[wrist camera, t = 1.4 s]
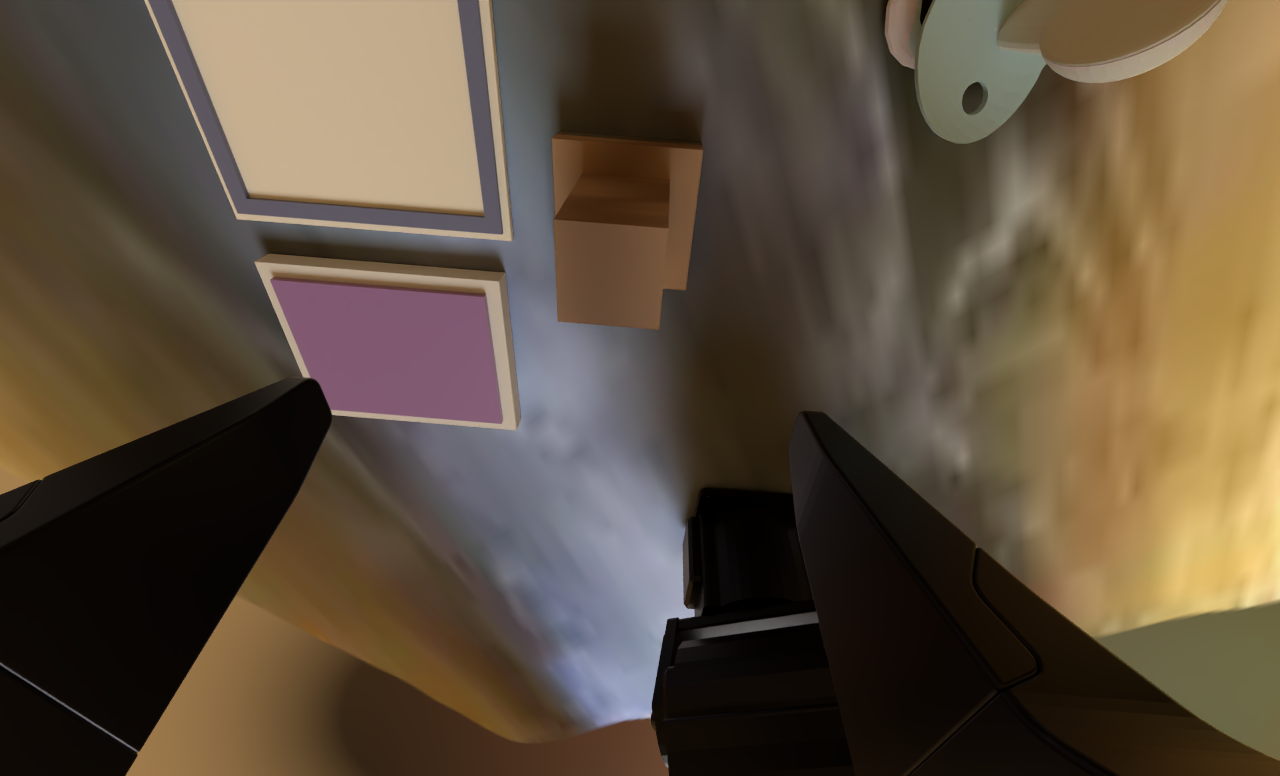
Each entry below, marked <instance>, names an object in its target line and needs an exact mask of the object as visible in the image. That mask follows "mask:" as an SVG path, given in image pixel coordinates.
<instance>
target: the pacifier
mask: <svg viewBox="0 0 1280 776" xmlns="http://www.w3.org/2000/svg"><path fill="white" fill-rule="evenodd" d="M1227 1H1228V0H933V1H932V3H931V5H930V8H929V10H928V12H927V15H926V17H925V19H924V22H923V24H922V26H921V22H920V14H921V7H922V0H889V1H888V4H887V8H886V21H885V36H886V40H887V43H888V47H889V50H890V53H891V54H892V55H893V56H894V57H895V58H896V59H897V60H898V61H899V62H900V64H901V65H903V66H906V67H909V68H912V69H915V88H916V95H917V100H918V103H919V107H920V110H921V113H922V115H923V117H924V119H925V121H926V123H927V124H928V125H929V127H930V128H931V129H932V130H933V132H934V133H936V134H937V135H938V136H940V137H941V138H943V139H945V140H948V141H950V142H953V143H960V144H967V143H971V142H975V141H978V140H980V139H983V138H985V137H987V136H988V135H989V134H991V133H992V132H994V131H995V130H996V129H997V128H999V127H1000V126H1001V125H1002V124H1004V123H1005V122H1006V121H1007V120H1008V118H1009V117H1010V116H1011V115H1012V114H1013V113H1014V112H1015V111H1016V110H1017V108H1018V107H1019V106H1020V105H1021V103H1022V102H1023V101H1024V99H1025V98H1026V97H1027V95H1028V93H1029V92H1030V90H1031V89H1032V87H1033V86H1034V84H1035V83H1036V81H1037V79H1038V77H1039V75H1040V72H1041V70H1042V68H1043V67H1044V66H1045V65H1046V64H1048V65H1049V66H1050V68H1051V69H1052V70H1054V71H1055V72H1056V73H1058V74H1060V75H1062V76H1063V77H1065V78H1068V79H1071V80H1074V81H1079V82H1086V83H1105V82H1112V81H1118V80H1122V79H1127V78H1130V77H1133V76H1137V75H1140V74H1142V73H1145V72H1147V71H1150V70H1152V69H1154V68H1156V67H1158V66H1160V65H1162V64H1164V63H1166V62H1167V61H1169V60H1171V59H1172V58H1174V57H1176V56H1177V55H1179V54H1180V53H1181V52H1183V51H1184V50H1185V49H1187V48H1188V47H1189V46H1191V45H1192V44H1193V43H1194V42H1195V41H1196V40H1197V39H1198V38H1200V37H1201V36H1202V35H1203V34H1204V33H1205V32H1206V31H1207V30H1208V29H1209V27H1210V26H1211V25H1212V24H1213V22H1214V21H1215V20H1216V19H1217V17H1218V16H1219V15H1220V13H1221V12H1222V10H1223V8H1224V6H1225V4H1226V2H1227ZM974 82H979V83H980V84H981V86H982V88H983V99H982V102H981V104H980V106H979V107H978V108H977V109H976V110H975V111H974V112H972V113H970V114H966V113H965V112H964V110H963V107H962V97H963V94H964V92H965V90H966V89H967V87H968V86H969V85H971V84H972V83H974Z"/></svg>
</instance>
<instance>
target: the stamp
mask: <svg viewBox="0 0 1280 776" xmlns="http://www.w3.org/2000/svg"><path fill="white" fill-rule="evenodd" d="M552 153H553V177H554V201H555V218H554V219H553V221H554V244H555V267H556V290H557V312H558V321H559V322H571V323H584V324H596V325H608V326H621V327H633V328H645V329H657V330H659V324H660V314H661V303H662V293H663V289H676V290H686V284H687V276H688V268H689V260H690V252H691V244H692V236H693V228H694V220H695V212H696V205H697V197H698V189H699V181H700V173H701V165H702V157H703V147H702V142H695V141H682V140H669V139H656V138H644V137H631V136H618V135H605V134H592V133H579V132H566V131H560V132H558V133H557V134H556V135H555V136H554V137H553V138H552Z"/></svg>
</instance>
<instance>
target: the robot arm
mask: <svg viewBox="0 0 1280 776" xmlns="http://www.w3.org/2000/svg"><path fill="white" fill-rule="evenodd" d="M331 422H332V412H331V409H330V407H329V404H328V402H327V400H326V397H325V395H324V393H323V390H322V388H321V386H320V384H319V382H318V381H317V380H315V379H313V378H307V377H289V378H286V379H284V380H281V381H279V382H276V383H274V384H271V385H269V386H266V387H264V388H262V389H259V390H257V391H254V392H252V393H249V394H247V395H244V396H242V397H239V398H237V399H235V400H232V401H230V402H227V403H225V404H222V405H220V406H217V407H215V408H213V409H210V410H208V411H205V412H203V413H200V414H198V415H195V416H193V417H190V418H188V419H186V420H183V421H181V422H178V423H176V424H173V425H171V426H168V427H166V428H163V429H161V430H159V431H156V432H154V433H151V434H149V435H146V436H144V437H141V438H139V439H136V440H134V441H132V442H129V443H127V444H124V445H122V446H119V447H117V448H114V449H112V450H109V451H107V452H105V453H102V454H100V455H97V456H95V457H92V458H90V459H87V460H85V461H83V462H80V463H78V464H75V465H73V466H70V467H68V468H65V469H63V470H60V471H58V472H56V473H53V474H51V475H48V476H46V477H44V478H43V480H36V481H33V482H31V483H28V484H26V485H23V486H21V487H18V488H16V489H14V490H11V491H9V492H6V493H4V494H1V495H0V776H125V775H126V774H127V772H128V771H129V769H130V767H131V766H132V764H133V762H134V761H135V759H136V757H137V752H139V751H140V750H141V748H142V747H143V745H144V744H145V742H146V740H147V739H148V737H149V735H150V734H151V732H152V731H153V729H154V727H155V726H156V724H157V723H158V721H159V719H160V717H161V716H162V714H163V713H164V711H165V709H166V708H167V706H168V705H169V703H170V701H171V699H172V698H173V696H174V695H175V693H176V691H177V690H178V688H179V687H180V685H181V683H182V681H183V680H184V678H185V677H186V675H187V674H188V672H189V670H190V669H191V667H192V665H193V664H194V662H195V661H196V659H197V657H198V655H199V654H200V652H201V651H202V649H203V648H204V646H205V644H206V643H207V641H208V639H209V638H210V636H211V634H212V633H213V631H214V630H215V628H216V626H217V625H218V623H219V622H220V620H221V618H222V617H223V615H224V613H225V612H226V610H227V609H228V607H229V605H230V604H231V602H232V600H233V599H234V597H235V595H236V594H237V592H238V591H239V589H240V587H241V586H242V584H243V582H244V581H245V579H246V578H247V576H248V574H249V573H250V571H251V569H252V568H253V566H254V565H255V563H256V561H257V560H258V558H259V556H260V555H261V553H262V552H263V550H264V548H265V547H266V545H267V543H268V542H269V540H270V538H271V537H272V535H273V534H274V532H275V530H276V529H277V527H278V525H279V524H280V522H281V521H282V519H283V517H284V516H285V514H286V512H287V511H288V509H289V508H290V506H291V504H292V503H293V501H294V499H295V497H296V496H297V494H298V492H299V490H300V488H301V486H302V484H303V482H304V480H305V478H306V476H307V474H308V472H309V470H310V468H311V466H312V463H313V461H314V459H315V457H316V455H317V453H318V451H319V449H320V447H321V444H322V442H323V440H324V438H325V436H326V434H327V432H328V430H329V428H330V425H331ZM788 455H789V465H790V474H791V483H792V492H793V495H787V494H775V493H763V492H752V491H740V490H728V489H716V488H704V489H702V490H701V491H700V492H699V496H698V501H697V506H696V511H695V516H694V517H693V516H691V517H690V518H689V519H688V520H687V525H686V530H685V536H684V541H683V586H684V605H685V606H686V607H687V608H688V609H695V617H691V618H684V619H679V618H671V619H668V620H667V625H666V631H665V635H664V637H663V642H662V648H661V654H660V660H659V666H658V671H657V677H656V683H655V689H654V694H653V700H652V714H651V724H652V727H653V729H654V730H655V731H656V734H657V740H658V745H659V749H660V752H661V756H662V758H663V761H664V763H665V765H666V766H667V768H668V769H669V776H1280V760H1278V759H1275V758H1273V757H1270V756H1268V755H1266V754H1264V753H1261V752H1260V751H1257V750H1255V749H1253V748H1251V747H1249V746H1247V745H1245V744H1243V743H1241V742H1239V741H1238V740H1236V739H1234V738H1232V737H1230V736H1228V735H1227V734H1224V733H1223V732H1221V731H1220V730H1218V729H1216V728H1215V727H1213V726H1212V725H1210V724H1209V723H1207V722H1205V721H1204V720H1202V719H1201V718H1199V717H1197V716H1196V715H1195V714H1193V713H1192V712H1190V711H1189V710H1188V709H1186V708H1185V707H1184V706H1182V705H1180V704H1179V703H1178V702H1177V701H1176V700H1174V699H1172V697H1170V696H1169V695H1168V694H1166V693H1165V692H1164V691H1162V690H1161V689H1160V688H1158V687H1157V686H1156V685H1154V684H1153V683H1152V682H1150V681H1149V680H1147V679H1146V678H1145V677H1144V676H1142V675H1141V674H1140V673H1138V672H1137V671H1136V670H1134V669H1133V668H1132V667H1131V666H1129V665H1127V663H1125V662H1124V661H1122V660H1121V659H1120V658H1119V657H1117V656H1116V655H1115V654H1113V653H1112V652H1110V651H1109V650H1108V649H1107V648H1105V647H1104V646H1103V645H1101V644H1100V643H1099V642H1097V641H1096V640H1095V639H1094V638H1092V637H1091V636H1090V635H1088V634H1087V633H1086V632H1084V631H1083V630H1082V629H1080V628H1079V627H1078V626H1076V625H1075V624H1074V623H1073V622H1071V621H1070V620H1069V619H1067V618H1066V617H1065V616H1064V615H1062V614H1061V613H1060V612H1058V611H1057V610H1056V609H1055V608H1053V607H1052V606H1051V605H1049V604H1048V603H1047V602H1046V601H1044V600H1043V599H1042V598H1040V597H1039V596H1038V595H1037V594H1035V593H1034V592H1033V591H1032V590H1031V589H1029V588H1028V587H1027V586H1026V585H1025V584H1023V583H1022V582H1021V581H1020V580H1019V579H1017V578H1016V577H1015V576H1014V575H1013V574H1011V573H1010V572H1009V571H1008V570H1007V569H1005V568H1004V567H1003V566H1002V565H1001V564H999V563H998V562H997V561H996V560H995V559H994V558H992V557H991V556H990V555H989V554H988V553H987V552H985V551H984V550H983V549H982V548H977V545H976V543H975V542H974V541H972V540H971V539H970V538H969V537H968V536H967V535H965V534H964V533H963V532H962V531H961V530H960V529H959V528H957V527H956V526H955V525H954V524H953V523H952V522H950V521H949V520H948V519H947V518H946V517H945V516H943V515H942V514H941V513H940V512H939V511H938V510H936V509H935V508H934V507H933V506H932V505H931V504H930V503H928V502H927V501H926V500H925V499H924V498H923V497H921V496H920V495H919V494H918V493H917V492H916V491H914V490H913V489H912V488H911V487H910V486H909V485H907V484H906V483H905V482H904V481H903V480H902V479H901V478H899V477H898V476H897V475H896V474H895V473H894V472H892V471H891V470H890V469H889V468H888V467H887V466H885V465H884V464H883V463H882V462H881V461H880V460H878V459H877V458H876V457H875V456H874V455H873V454H872V453H870V452H869V451H868V450H867V449H866V448H865V447H863V446H862V445H861V444H860V443H859V442H858V441H856V440H855V439H854V438H853V437H852V436H851V435H849V434H848V433H847V432H846V431H845V430H844V429H843V428H841V427H840V426H839V425H838V424H837V423H836V422H834V421H833V420H832V419H831V418H830V417H829V416H827V415H826V414H825V413H823V412H816V411H802V412H800V413H799V415H798V417H797V420H796V423H795V426H794V430H793V433H792V436H791V440H790V443H789V450H788ZM707 496H709V497H707Z"/></svg>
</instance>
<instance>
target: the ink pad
mask: <svg viewBox="0 0 1280 776" xmlns="http://www.w3.org/2000/svg"><path fill="white" fill-rule="evenodd" d="M255 264H256V267H257V269H258V272H259V274H260V276H261V279H262V281H263V283H264V286H265V288H266V290H267V293H268V295H269V297H270V300H271V302H272V305H273V307H274V309H275V312H276V314H277V316H278V319H279V321H280V323H281V326H282V328H283V330H284V333H285V335H286V338H287V340H288V342H289V345H290V347H291V349H292V352H293V354H294V356H295V359H296V361H297V363H298V366H299V368H300V370H301V373H302V375H303V377H307V378H313V379H315V380H317V381H318V382H319V384H320V386H321V388H322V390H323V393H324V395H325V397H326V400H327V402H328V404H329V407H330V409H331V412H332V415H341V416H353V417H365V418H377V419H389V420H401V421H413V422H425V423H436V424H448V425H460V426H472V427H484V428H496V429H508V430H517V428H518V425H519V423H520V420H521V414H520V405H519V395H518V386H517V377H516V368H515V358H514V349H513V340H512V331H511V322H510V312H509V303H508V294H507V285H506V276H505V273H504V272H491V271H479V270H467V269H454V268H442V267H429V266H417V265H405V264H392V263H380V262H367V261H355V260H342V259H330V258H318V257H305V256H293V255H280V254H267V255H266V256H264V257H262V258H260V259H258V260H257V261H255Z"/></svg>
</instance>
